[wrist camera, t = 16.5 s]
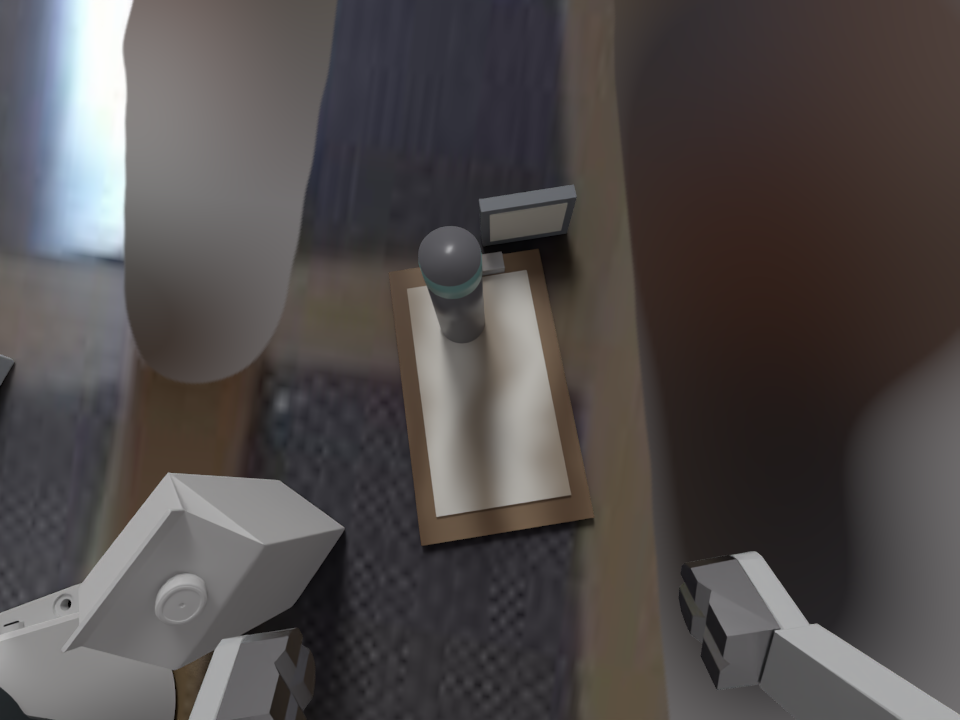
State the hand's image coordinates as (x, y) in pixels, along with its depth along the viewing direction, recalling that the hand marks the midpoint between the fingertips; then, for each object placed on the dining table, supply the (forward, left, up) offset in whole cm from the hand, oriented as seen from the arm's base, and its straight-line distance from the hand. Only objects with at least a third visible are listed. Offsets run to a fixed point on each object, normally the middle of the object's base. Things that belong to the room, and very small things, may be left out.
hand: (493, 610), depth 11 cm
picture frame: (+7, +25, -31) cm, 41 cm away
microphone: (0, +17, -31) cm, 35 cm away
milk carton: (-17, +1, -32) cm, 36 cm away
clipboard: (+1, +11, -31) cm, 33 cm away
